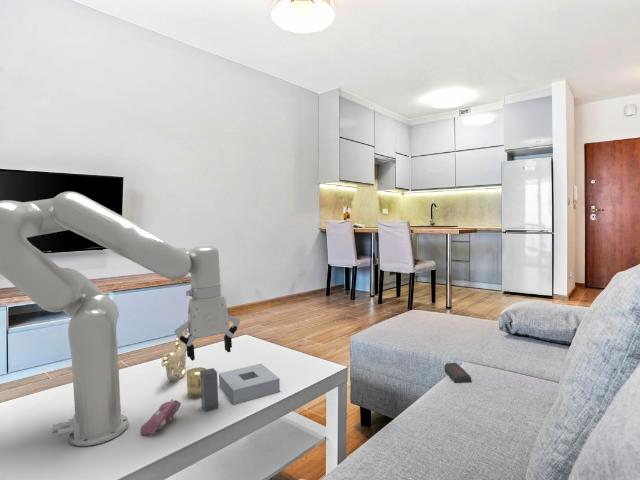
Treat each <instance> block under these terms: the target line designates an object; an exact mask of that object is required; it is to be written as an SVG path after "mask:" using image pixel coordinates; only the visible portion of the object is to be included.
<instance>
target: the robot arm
mask: <svg viewBox="0 0 640 480" xmlns="http://www.w3.org/2000/svg"><path fill="white" fill-rule="evenodd" d="M64 231H70V232H73V233H75V234H77V235H79V236H81V237H84V238H85V239H88V240H90V241H92V242H94V243H96V244H97V245H99V246H101V247H103V248H105V249H107V250H109V251H111V252H113V253H115V254H116V255H118V256H121V257H123V258H125V259H127V260H130V261H131V262H133V263H135V264H137V265H138V266H141V267H142V268H145V269H147V270H148V271H151V272H153V273H155V274H157V275H158V276H161V277H163V278H165V279H167V280H172V281H177V280H181V279H183V278H185V277H186V276H188V274H189V275H190V286H191V287H190V289H189V290H186V291H185V296H186V297H191V298H190V299H189V301H188V308H187V309H188V311H187V314H188V315H187V321H185V323H184V322H183V324H181V326H180V325H179V326H178V327H177V328H176V329H174V333H175V335H176V337H177V336H178V338H179V339H180V341H182V342H183V343H185V344H186V354H187V355H186V357H187V358H189V360H190V361H194V360H196V358H195V346H194V344H193V343H194V342H195V340H196V339H200V338H207V337H212V336H217V335H221V334H225V335H224V337H223V342H224V350H225V351H226V352H227V353H231V352H232V351H231V349H232V347H233V341H232V339H233V337H234V334H235V333H236V331H237V330H238V327H239V324H240V322H241V320H240V318H238V317H234V316H232V315H229V314H228V305H227V302H226V297H225V295H223V294H222V289H221V286H222V285H221V273H220V271H221V270H220V255H219V249H218V248H217V247H216V246H196V247H193V248H192V247H191V248H187V247H186V248H182V247H176V246H174V245H172V244H169V243H168V242H166V241H164V240H162V239H161V238H159V237H156V236H154V235H153V234H151V233H149V232H148V231H146V230H144V229H143V228H142V227H140V226H139V225H138V224H137V223H135V222H134V221H132V220H130V219H128V218H127V217H125V216H123V215H121V214H119V213H117V212H116V211H113V210H111V209H110V208H108V207H106V206H104V205H102V204H100V203H99V202H97V201H94V200H92V199H91V198H89V197H87V196H86V195H83V194H82V193H79V192H77V191H64V192H60V193H59V194H57V195H56V196H54V197H52V198H47V199H45V198H44V199H39V200H32V201H31V200H30V201H25V202H22V201H16V200H7V199H5V200H0V275H2V276H3V277H4V278H5V279H7V280H8V282H10V283H11V284H12V285H13V286H14V287H16V288H17V289H18V290H19V291H20V292H22V293H23V294H24V295H25V296H26V297H28V298H29V299H30V300H31V301H33V303H35V304H36V305H37V306H38V307H39V308H41V309H43V310H44V311H47V312H50V313H60V312H63V313H65V314H66V315H67V316H68V317H69V318H70V320H69V322H68V329H67V333H68V334H67V335H68V342H69V349H70V356H71V369H72V372H71V373H72V384H73V399H74V400H73V402H74V404H73V405H74V414H73V418H70V419H68V421H64V422H59V423H54V424H52V434H56V433H57V436H59V437H60V436H64V435H66V434H68V435H67V438H68V439H67V440H68V442H69V444H71V445H74V446H78V447H88V446H89V447H90V446H95V445H99V444H103V443H106V442H109V441H110V440H113V439H115V438H117V437H118V436H119V435H121V434H122V433H124V432H125V431H126V429H127V428H128V426H129V419H128V417H127V415H124V414H122V412H121V411H122V410H121V409H122V408H121V407H122V406H121V390H120V367H119V365H120V364H119V354H118V353H119V352H118V338H117V323H118V319H119V314H120V313H119V312H120V311H119V308H118V305H117V304H116V302H114V300H113V299H111V297H109V296H108V295H107V294H106V293H105V292H104V291H103V290H101V289H100V288H99V286H97V285H96V284H95V283H94V282H92V281H91V280H90V279H89V278H88V277H86V275H84V274H83V273H82V272H80V271H78V270H76V269H74V268H70V267H60V266H59V265H57V264H56V263H55V262H54V261H53V260H52V259H50V258H49V257H48V256H47V254H45V253H43V252H42V250H40V249H38V248H37V247H36V246H34V245H33V244H32V243H31V242H30V241H29V240H28V239H27V238H32V237H36V236H41V235H48V234H53V233H57V232H64ZM230 322H232V326H230ZM187 329H188V330H187ZM184 330H187V332H188V334H187V335H188V336H187V337H186V336H185V337H184V336H183V335H182V332H183V331H184Z"/></svg>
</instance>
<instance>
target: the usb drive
mask: <svg viewBox="0 0 640 480" xmlns="http://www.w3.org/2000/svg"><path fill="white" fill-rule="evenodd" d="M443 368H444V373H445V374H446V375H447V376H448V377H449V378H450V380H451V381H452V382H453V383H454V384H464V383H465V384H470V383H472V377H471V375H470V374H469V373H468V372H466V370H465V369H464V368H463V367H462V366H460V365H459V364H458V363H457V362H444V363H443Z"/></svg>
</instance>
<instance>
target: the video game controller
mask: <svg viewBox="0 0 640 480" xmlns="http://www.w3.org/2000/svg"><path fill="white" fill-rule="evenodd" d="M180 407H181V402H180V401H178V400H175V399H173V398H171V400H169V401H166V402H164V403H162V404H161V405H160V406H159V408H158V409H157V410H156V411H155V413H153V415H152V416H151V417H150V418H149V420H148V421H146V422H145V423H144V424H143V425H141V427H140V430H139V431H140V434H142V435H144V436H145V435H146V436H147V435H150V434H152V433H153V432H154V431H156V430H158V431H161V430H162V429H163V428H164V426H165V424H168V423H169V424H170V422H171V421H172V419H173V417H174V416H175V415H176V413H177V412H178V410H179V409H180Z"/></svg>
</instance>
